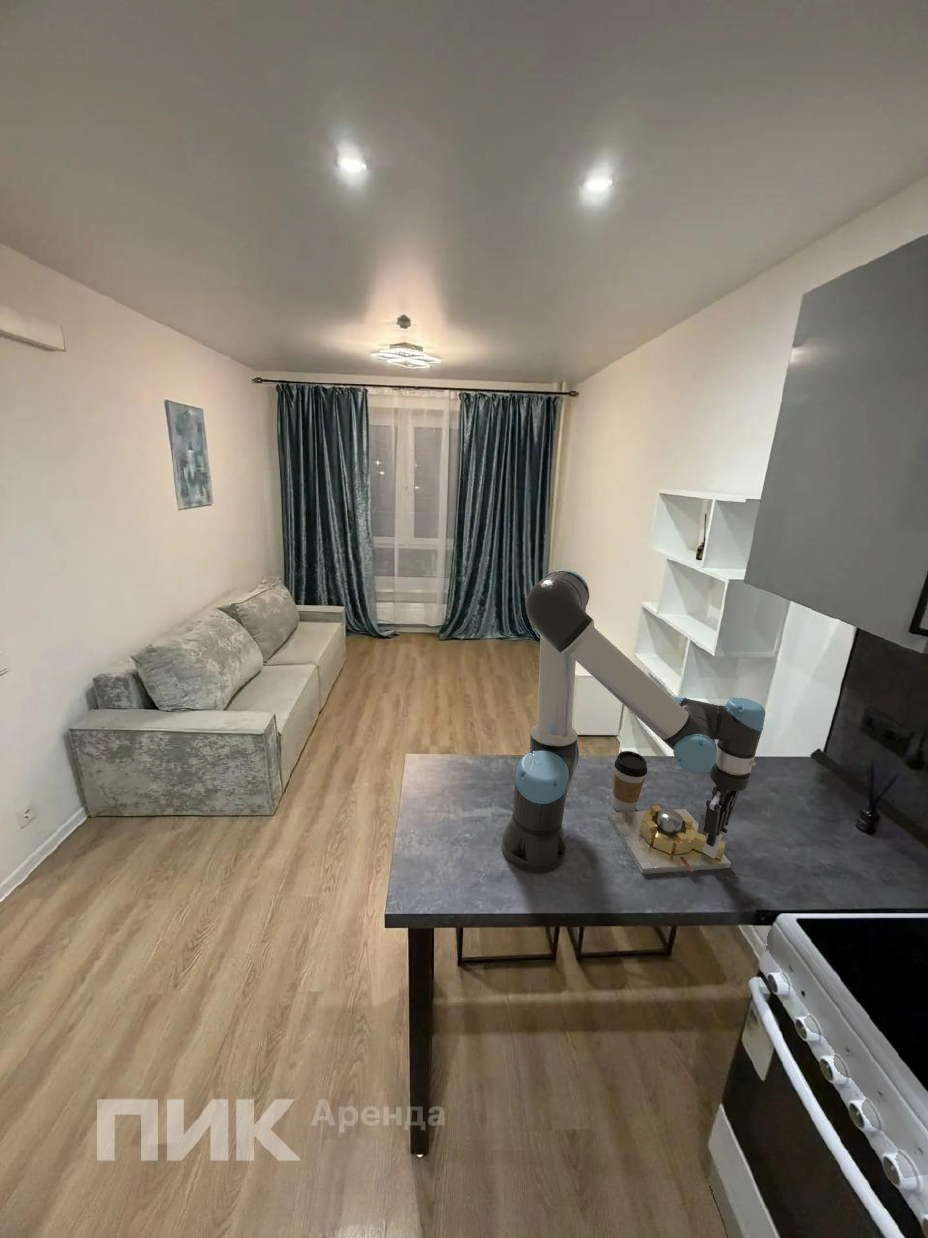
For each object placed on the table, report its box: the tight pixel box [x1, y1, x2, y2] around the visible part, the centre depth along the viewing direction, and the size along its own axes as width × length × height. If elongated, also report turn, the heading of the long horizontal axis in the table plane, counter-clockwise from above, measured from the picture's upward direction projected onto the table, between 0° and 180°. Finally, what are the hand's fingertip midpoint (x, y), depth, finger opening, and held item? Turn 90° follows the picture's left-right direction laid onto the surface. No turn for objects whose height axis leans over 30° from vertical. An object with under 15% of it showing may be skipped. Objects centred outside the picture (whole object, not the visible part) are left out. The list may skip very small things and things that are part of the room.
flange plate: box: [607, 808, 732, 875], centre depth 123 cm, size 22×21×8 cm
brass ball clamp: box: [640, 805, 726, 860], centre depth 122 cm, size 18×12×4 cm, turn 59°
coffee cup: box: [612, 750, 648, 812], centre depth 134 cm, size 8×8×15 cm
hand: (709, 854), depth 117 cm, fingers closed
